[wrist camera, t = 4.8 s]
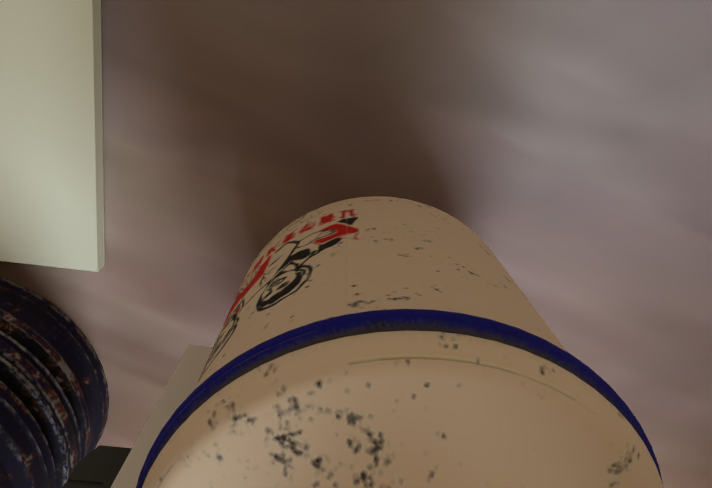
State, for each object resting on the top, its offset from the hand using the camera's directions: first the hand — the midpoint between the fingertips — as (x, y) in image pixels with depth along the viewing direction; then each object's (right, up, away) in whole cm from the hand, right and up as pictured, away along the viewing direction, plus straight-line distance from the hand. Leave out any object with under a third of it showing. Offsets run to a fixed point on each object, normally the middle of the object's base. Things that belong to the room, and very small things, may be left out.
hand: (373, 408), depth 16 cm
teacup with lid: (-1, +1, +3) cm, 3 cm away
